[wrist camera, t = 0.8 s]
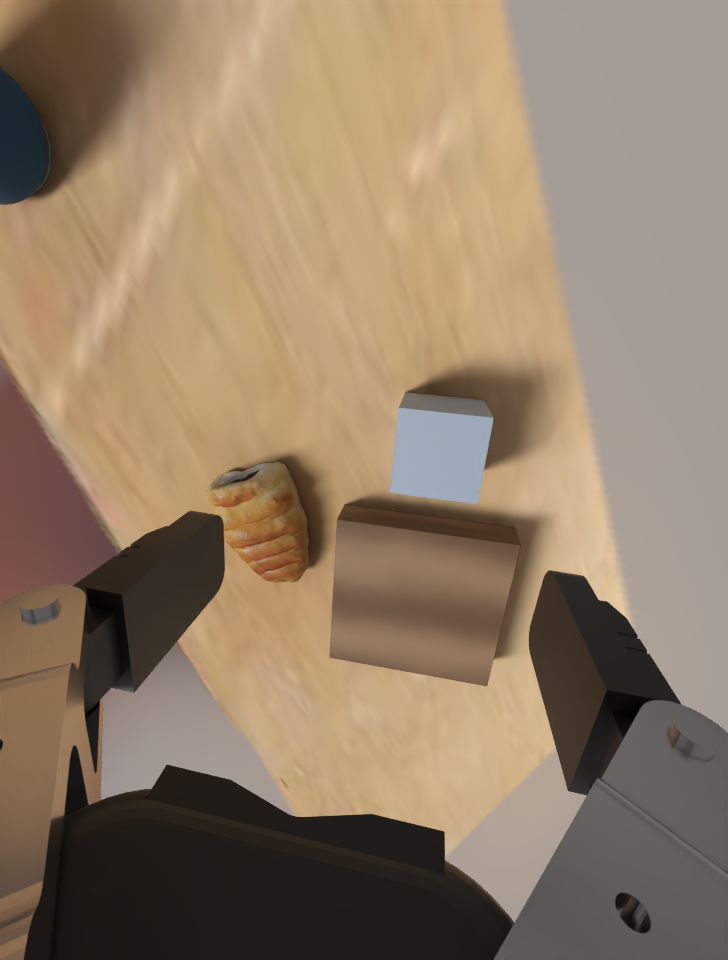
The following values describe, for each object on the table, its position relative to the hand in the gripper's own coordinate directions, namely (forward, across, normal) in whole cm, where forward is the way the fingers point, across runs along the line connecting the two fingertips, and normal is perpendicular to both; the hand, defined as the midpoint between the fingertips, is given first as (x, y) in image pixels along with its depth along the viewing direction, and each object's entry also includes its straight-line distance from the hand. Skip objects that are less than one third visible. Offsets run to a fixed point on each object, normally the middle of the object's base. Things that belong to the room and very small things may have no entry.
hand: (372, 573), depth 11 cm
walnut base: (+20, -2, +13) cm, 24 cm away
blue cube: (+19, -2, +1) cm, 19 cm away
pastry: (+20, +10, +8) cm, 24 cm away
